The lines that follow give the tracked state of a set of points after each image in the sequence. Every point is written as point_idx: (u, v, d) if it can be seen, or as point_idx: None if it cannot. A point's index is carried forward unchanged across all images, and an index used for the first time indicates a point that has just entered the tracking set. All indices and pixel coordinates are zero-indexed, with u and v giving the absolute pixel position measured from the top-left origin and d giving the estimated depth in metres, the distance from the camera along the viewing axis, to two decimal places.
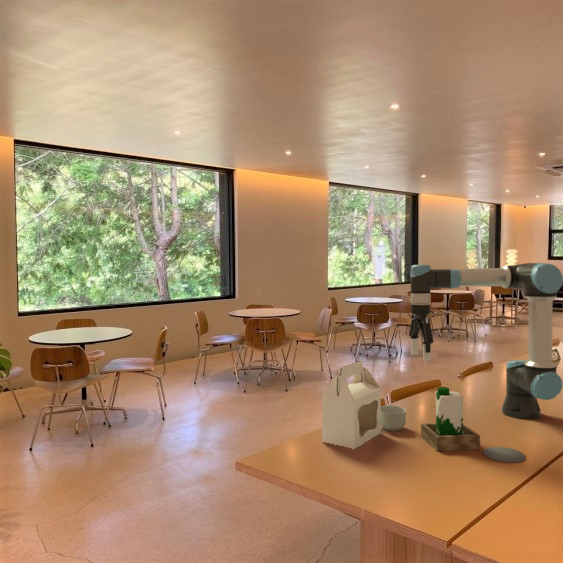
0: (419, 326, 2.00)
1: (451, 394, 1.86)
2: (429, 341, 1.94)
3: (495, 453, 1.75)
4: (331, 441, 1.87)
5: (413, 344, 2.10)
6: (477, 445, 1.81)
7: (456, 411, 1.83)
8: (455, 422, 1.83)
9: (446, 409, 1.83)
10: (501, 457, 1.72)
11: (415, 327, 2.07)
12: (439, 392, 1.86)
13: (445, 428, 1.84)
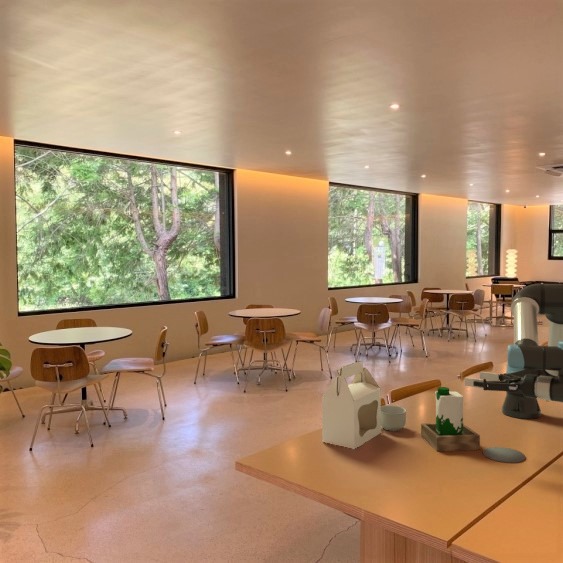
0: None
1: (451, 394, 1.86)
2: None
3: (495, 453, 1.75)
4: (331, 441, 1.87)
5: None
6: (477, 445, 1.81)
7: (456, 411, 1.83)
8: (455, 422, 1.83)
9: (446, 409, 1.83)
10: (501, 457, 1.72)
11: None
12: (439, 392, 1.86)
13: (445, 428, 1.84)
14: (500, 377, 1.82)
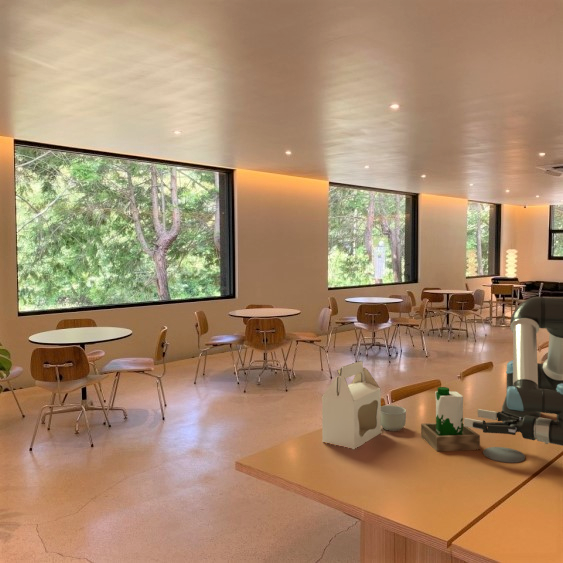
0: None
1: (451, 394, 1.86)
2: None
3: (495, 453, 1.75)
4: (331, 441, 1.87)
5: None
6: (477, 445, 1.81)
7: (456, 411, 1.83)
8: (455, 422, 1.83)
9: (446, 409, 1.83)
10: (501, 457, 1.72)
11: None
12: (439, 392, 1.86)
13: (445, 428, 1.84)
14: (498, 415, 1.83)
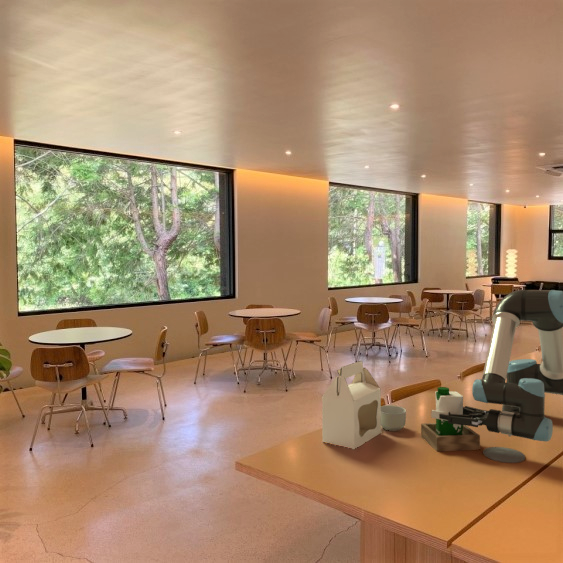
0: None
1: (451, 394, 1.86)
2: None
3: (495, 453, 1.75)
4: (331, 441, 1.87)
5: None
6: (477, 445, 1.81)
7: (456, 411, 1.83)
8: None
9: (445, 409, 1.83)
10: (501, 457, 1.72)
11: None
12: (439, 392, 1.86)
13: (445, 428, 1.84)
14: None
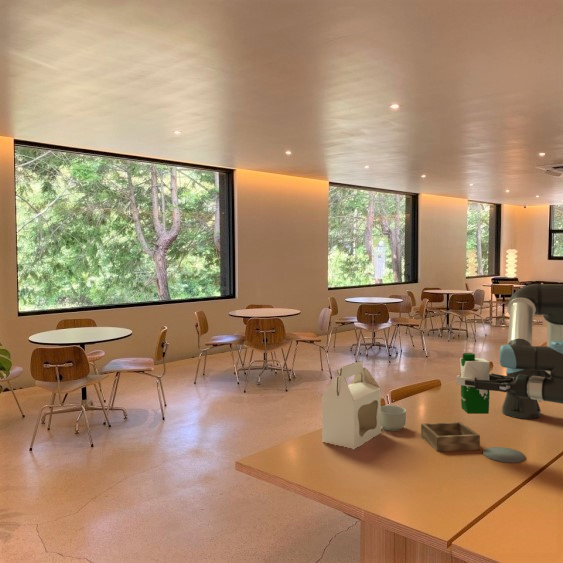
0: None
1: (477, 360, 1.79)
2: None
3: (495, 453, 1.75)
4: (331, 441, 1.87)
5: None
6: (477, 445, 1.81)
7: (482, 377, 1.76)
8: None
9: (471, 375, 1.76)
10: (501, 457, 1.72)
11: None
12: (465, 358, 1.79)
13: (471, 394, 1.76)
14: None
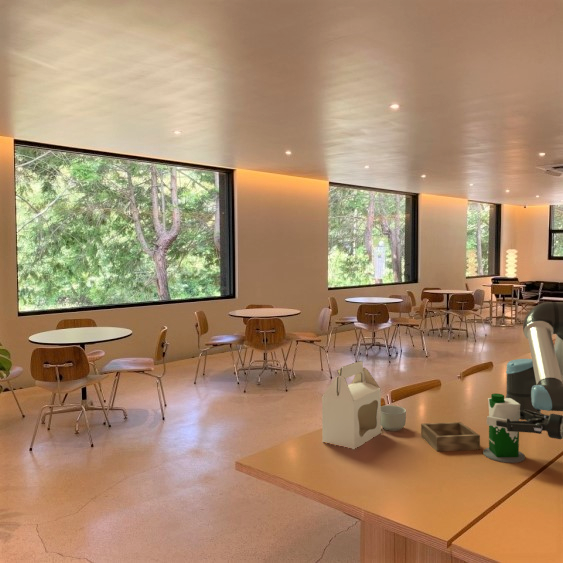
0: None
1: (506, 401, 1.73)
2: None
3: None
4: (331, 441, 1.87)
5: None
6: (477, 445, 1.81)
7: (513, 420, 1.70)
8: (512, 432, 1.70)
9: (501, 418, 1.70)
10: (501, 457, 1.72)
11: None
12: (494, 399, 1.73)
13: (501, 438, 1.71)
14: (521, 414, 1.78)
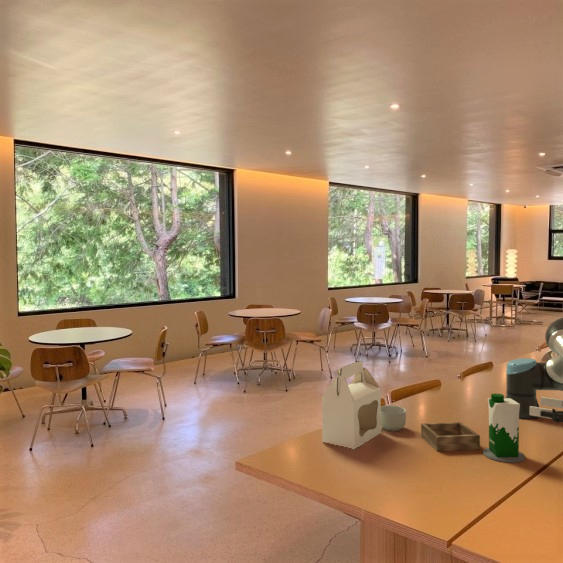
0: None
1: (506, 401, 1.73)
2: None
3: None
4: (331, 441, 1.87)
5: None
6: (477, 445, 1.81)
7: (512, 420, 1.70)
8: (512, 432, 1.70)
9: (501, 418, 1.71)
10: (501, 457, 1.72)
11: None
12: (494, 399, 1.73)
13: (501, 438, 1.71)
14: None
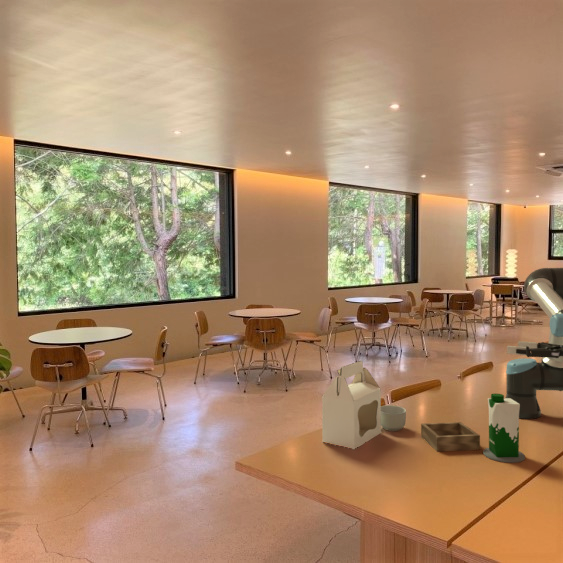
0: None
1: (506, 401, 1.73)
2: None
3: None
4: (331, 441, 1.87)
5: None
6: (477, 445, 1.81)
7: (512, 420, 1.70)
8: (512, 432, 1.70)
9: (501, 418, 1.71)
10: (501, 457, 1.72)
11: None
12: (494, 399, 1.73)
13: (501, 438, 1.71)
14: (538, 346, 1.91)
